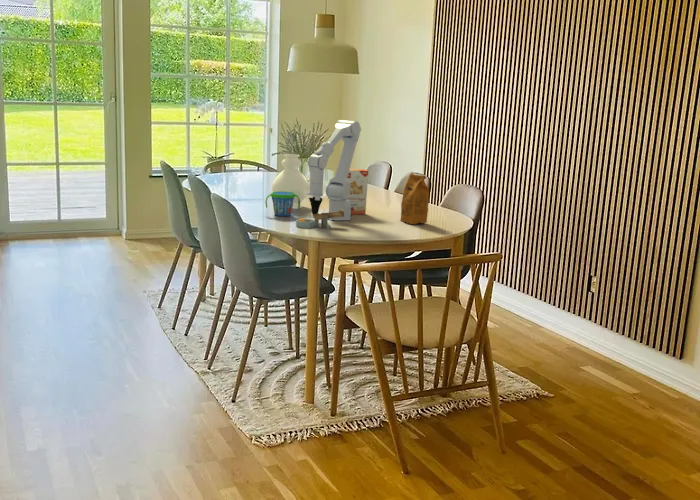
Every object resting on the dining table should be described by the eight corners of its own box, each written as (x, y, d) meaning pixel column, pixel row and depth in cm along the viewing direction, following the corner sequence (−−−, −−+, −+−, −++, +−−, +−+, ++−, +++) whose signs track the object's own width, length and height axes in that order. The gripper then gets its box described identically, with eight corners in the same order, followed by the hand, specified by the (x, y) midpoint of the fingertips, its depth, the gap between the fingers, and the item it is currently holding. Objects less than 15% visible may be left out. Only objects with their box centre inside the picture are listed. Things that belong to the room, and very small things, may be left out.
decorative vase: (303, 211, 351) (304, 157, 346) (266, 208, 355) (268, 155, 349) (312, 205, 368) (314, 154, 363) (277, 202, 372) (279, 152, 366)
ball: (298, 223, 317) (305, 223, 318) (298, 226, 314) (305, 226, 315) (298, 217, 316) (305, 217, 316) (299, 220, 313) (306, 220, 314)
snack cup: (265, 216, 332) (265, 194, 330) (265, 212, 343) (265, 190, 340) (300, 217, 334) (301, 195, 332) (299, 213, 344) (300, 191, 342)
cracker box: (337, 214, 346) (339, 169, 342) (334, 212, 352) (336, 168, 347) (366, 214, 350) (368, 170, 345) (362, 212, 356) (364, 168, 351)
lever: (340, 212, 326) (339, 206, 326) (344, 217, 315) (343, 211, 314) (311, 215, 325) (311, 209, 324) (314, 221, 313) (314, 214, 312)
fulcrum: (328, 224, 322) (329, 212, 321) (331, 228, 313) (331, 216, 312) (313, 224, 321) (313, 212, 320) (315, 228, 312) (316, 216, 311)
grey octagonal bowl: (312, 224, 320) (312, 219, 320) (314, 228, 313) (314, 222, 312) (295, 224, 319) (295, 218, 318) (296, 227, 312) (297, 222, 311)
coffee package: (416, 219, 344) (419, 171, 340) (429, 224, 333) (433, 175, 328) (397, 220, 340) (400, 172, 336) (409, 225, 329) (413, 175, 324)
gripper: (305, 180, 325) (304, 211, 328) (308, 185, 311) (307, 217, 314) (321, 181, 326) (320, 211, 329) (325, 185, 312) (324, 217, 315)
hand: (314, 214), depth 322 cm, fingers closed, pressing on lever
